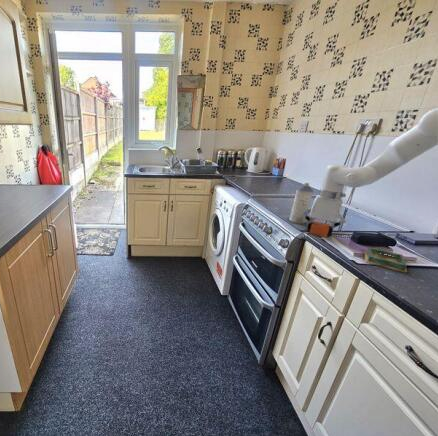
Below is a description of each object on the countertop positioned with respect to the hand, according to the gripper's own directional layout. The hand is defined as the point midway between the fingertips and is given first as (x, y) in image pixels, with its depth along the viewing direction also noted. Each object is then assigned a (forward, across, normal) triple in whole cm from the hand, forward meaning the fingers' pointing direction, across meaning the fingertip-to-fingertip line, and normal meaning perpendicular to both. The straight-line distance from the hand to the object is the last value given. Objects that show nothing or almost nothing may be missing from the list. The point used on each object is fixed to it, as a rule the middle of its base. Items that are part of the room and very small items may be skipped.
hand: (318, 232), depth 110 cm
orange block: (+1, 0, 0) cm, 1 cm away
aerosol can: (+1, +10, -10) cm, 14 cm away
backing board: (+1, -21, +14) cm, 25 cm away
